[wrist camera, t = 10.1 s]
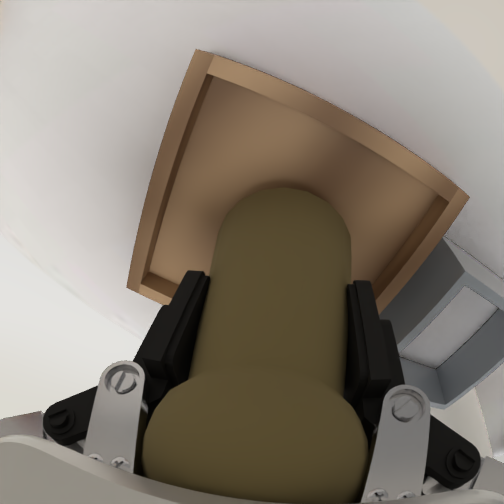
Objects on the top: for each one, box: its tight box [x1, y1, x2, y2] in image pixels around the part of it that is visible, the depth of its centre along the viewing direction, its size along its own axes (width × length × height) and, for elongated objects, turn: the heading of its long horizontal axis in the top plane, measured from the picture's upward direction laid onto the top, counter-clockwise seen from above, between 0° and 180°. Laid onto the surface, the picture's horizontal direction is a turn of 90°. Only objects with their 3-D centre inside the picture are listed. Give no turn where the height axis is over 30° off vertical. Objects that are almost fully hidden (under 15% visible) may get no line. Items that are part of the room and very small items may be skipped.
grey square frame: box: [379, 236, 504, 410], centre depth 16 cm, size 10×10×4 cm
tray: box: [126, 49, 470, 314], centre depth 15 cm, size 13×13×2 cm
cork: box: [140, 187, 369, 504], centre depth 9 cm, size 6×6×11 cm
